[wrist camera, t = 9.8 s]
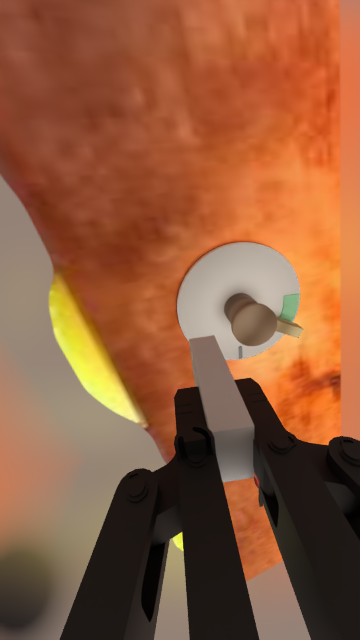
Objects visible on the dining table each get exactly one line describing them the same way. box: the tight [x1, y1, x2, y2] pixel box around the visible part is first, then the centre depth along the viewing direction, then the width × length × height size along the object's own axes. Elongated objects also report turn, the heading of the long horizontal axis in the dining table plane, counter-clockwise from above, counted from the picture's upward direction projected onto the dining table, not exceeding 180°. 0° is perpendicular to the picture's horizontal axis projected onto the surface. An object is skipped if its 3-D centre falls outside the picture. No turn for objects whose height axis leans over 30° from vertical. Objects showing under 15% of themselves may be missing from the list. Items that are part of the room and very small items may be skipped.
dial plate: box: [177, 242, 300, 360], centre depth 39 cm, size 20×20×2 cm
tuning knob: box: [224, 293, 303, 346], centre depth 35 cm, size 12×6×7 cm, turn 71°
